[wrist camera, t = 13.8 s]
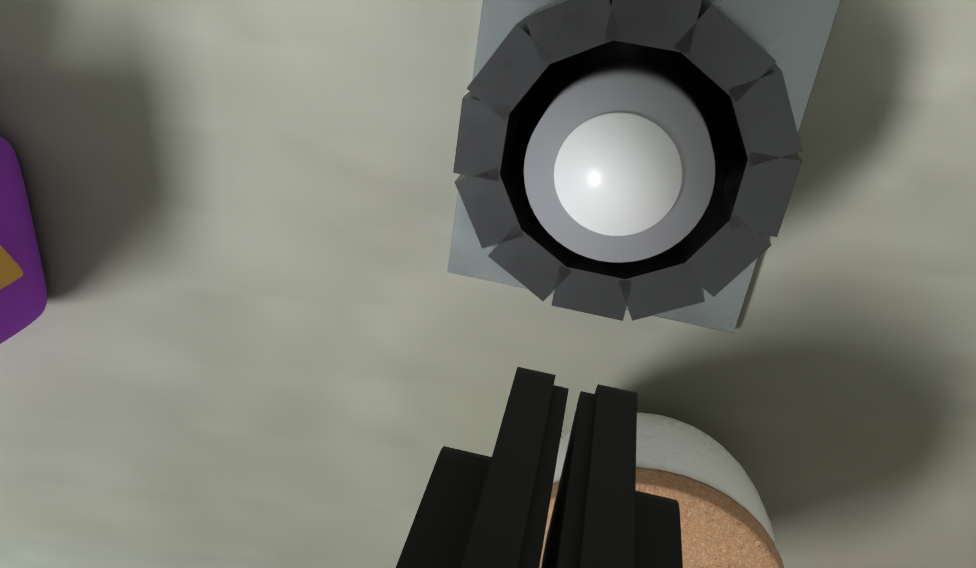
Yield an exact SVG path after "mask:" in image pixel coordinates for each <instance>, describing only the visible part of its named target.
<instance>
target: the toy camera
mask: <svg viewBox="0 0 976 568" xmlns="http://www.w3.org/2000/svg"><path fill="white" fill-rule="evenodd" d="M46 303H47V290H46V283H45V277H44V272H43V267H42V263H41V258H40V253H39V249H38V244H37V239H36V234H35V230H34V225H33V220H32V216H31V211H30V206H29V202H28V197H27V193H26V189H25V184H24V180H23V176H22V172H21V168H20V165H19V162H18V158H17V156H16V154H15V151H14V149H13V148H12V146H11V145H10V143H9V142H8V141H7V140H5V139H4V138H2V137H0V344H1V343H2V342H4V341H5V340H7V339H8V338H10V337H12V336H13V335H15V334H16V333H18V332H19V331H21V330H22V329H24V328H25V327H27V326H28V325H29V324H31V323H32V322H33V321H35V320H36V319H37V318H38V317H39V316H40V315H41V314H42V312H43V311H44V309H45V307H46Z"/></svg>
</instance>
